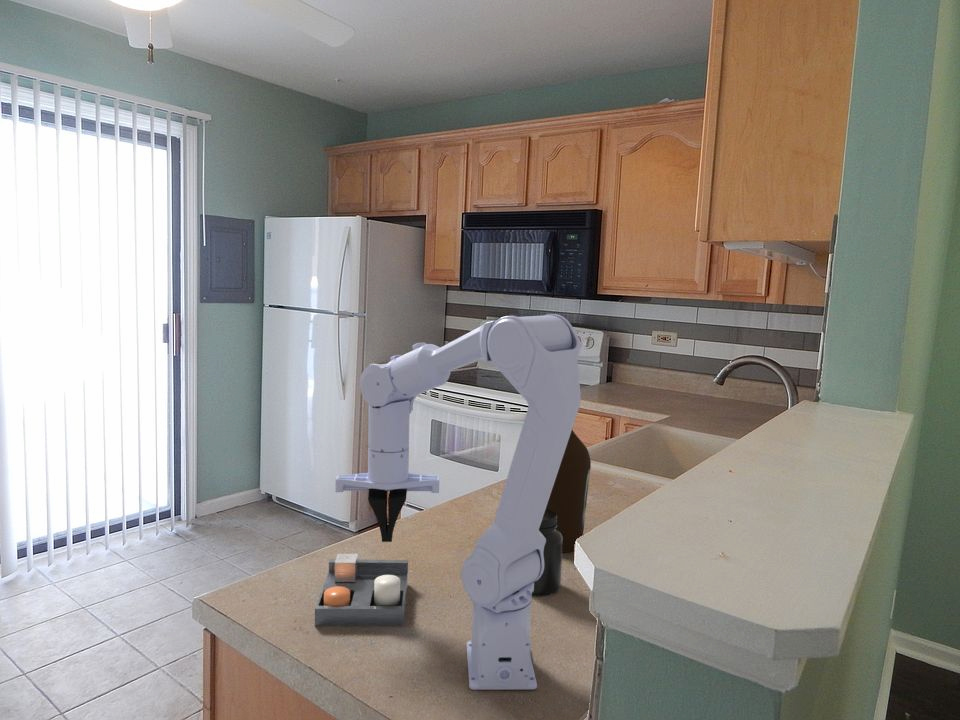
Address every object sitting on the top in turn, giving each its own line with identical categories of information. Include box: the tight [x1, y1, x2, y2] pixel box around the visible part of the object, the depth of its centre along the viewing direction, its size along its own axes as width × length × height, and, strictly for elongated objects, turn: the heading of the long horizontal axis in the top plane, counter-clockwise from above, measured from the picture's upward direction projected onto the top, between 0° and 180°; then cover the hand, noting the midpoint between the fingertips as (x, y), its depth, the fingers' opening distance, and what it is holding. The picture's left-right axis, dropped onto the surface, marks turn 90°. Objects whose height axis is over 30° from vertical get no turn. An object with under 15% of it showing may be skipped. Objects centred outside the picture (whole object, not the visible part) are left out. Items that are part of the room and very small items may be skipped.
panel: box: [314, 558, 409, 627], centre depth 94 cm, size 12×12×4 cm
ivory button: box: [374, 575, 400, 606], centre depth 91 cm, size 4×4×3 cm
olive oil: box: [546, 429, 592, 553], centre depth 117 cm, size 11×11×25 cm
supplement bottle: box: [532, 509, 563, 597], centre depth 101 cm, size 7×7×12 cm
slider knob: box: [335, 553, 359, 582], centre depth 97 cm, size 3×3×3 cm
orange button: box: [324, 586, 350, 606], centre depth 91 cm, size 4×4×3 cm
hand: (387, 539), depth 93 cm, fingers closed
